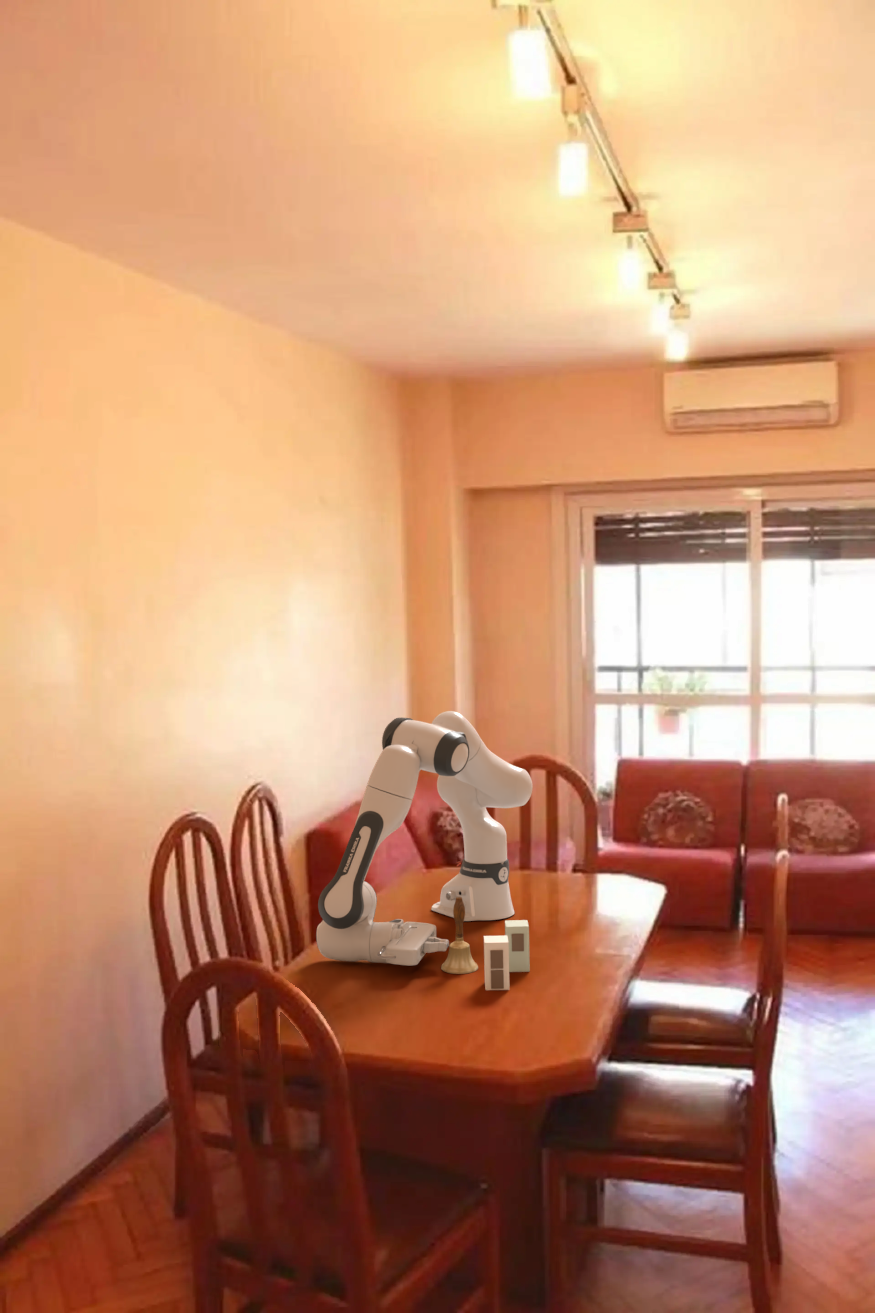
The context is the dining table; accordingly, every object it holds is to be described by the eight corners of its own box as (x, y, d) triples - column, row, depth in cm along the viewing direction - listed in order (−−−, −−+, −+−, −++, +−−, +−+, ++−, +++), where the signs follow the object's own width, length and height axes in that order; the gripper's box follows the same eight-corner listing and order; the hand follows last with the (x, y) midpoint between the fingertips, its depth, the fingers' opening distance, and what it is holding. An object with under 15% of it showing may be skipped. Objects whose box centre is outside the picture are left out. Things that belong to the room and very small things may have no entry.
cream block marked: (484, 982, 243) (483, 936, 242) (508, 982, 243) (507, 935, 242) (485, 990, 237) (484, 943, 237) (509, 990, 237) (508, 942, 237)
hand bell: (483, 964, 255) (481, 893, 254) (471, 975, 247) (470, 903, 246) (447, 961, 258) (446, 891, 257) (435, 972, 250) (434, 900, 249)
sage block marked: (505, 965, 254) (504, 920, 254) (528, 964, 254) (527, 920, 254) (506, 972, 249) (506, 927, 248) (529, 972, 249) (528, 926, 248)
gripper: (374, 942, 246) (437, 945, 243) (398, 916, 266) (456, 919, 263) (375, 971, 246) (437, 974, 243) (398, 943, 266) (457, 946, 263)
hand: (447, 945), depth 253 cm, fingers closed
